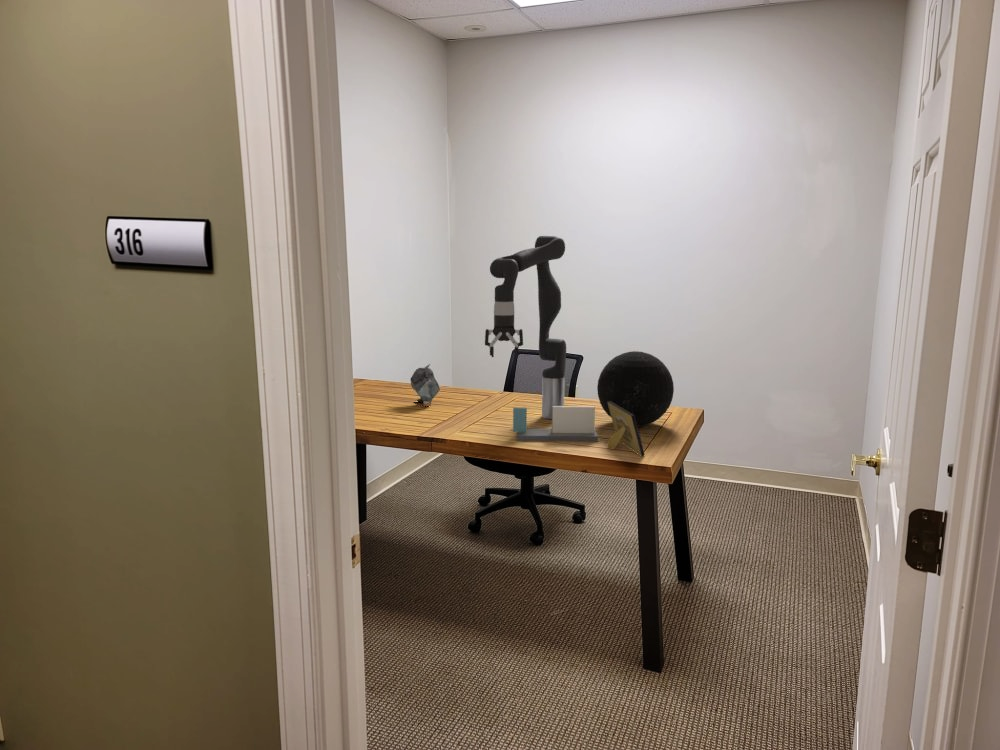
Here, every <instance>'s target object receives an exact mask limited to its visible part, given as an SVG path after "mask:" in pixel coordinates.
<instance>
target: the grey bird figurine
mask: <svg viewBox="0 0 1000 750" xmlns="http://www.w3.org/2000/svg"><path fill="white" fill-rule="evenodd" d="M430 365H431V363H429V364H427V365H426V366H424V367H418V368H417V369H416V370H414V372H413V374H412V376H411V377H410V386H411V388H412V389H413V391H415V392H416V394H417V396H418V397H420V398H418V399H416V400H417V401H418V402H423V403H422V405H423V406H432V404H431V403H432V401H433V399H434V398H435V397H436V396H437V394H438V393H439V392H440V390H441V389H440V385H439V383H438V381H437V380H436V378H435V374H434V371H433V370H432V369H431V368H430Z"/></svg>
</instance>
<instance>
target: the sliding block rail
mask: <svg viewBox="0 0 1000 750" xmlns="http://www.w3.org/2000/svg"><path fill="white" fill-rule="evenodd" d="M595 421H596V407H595V406H592V405H590V406H589V405H587V406H586V405H584V406H583V405H582V406H578V405H575V406H573V405H571V406H570V405H568V406H566V405H564V406H552V419H551V425H550V426H551V428H526V432H516V441H517V442H521V441H522V442H591V443H593V442H599V434H598V433H597V430H596V429H595V423H596V422H595Z"/></svg>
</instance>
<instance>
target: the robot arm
mask: <svg viewBox="0 0 1000 750" xmlns="http://www.w3.org/2000/svg"><path fill="white" fill-rule="evenodd" d="M565 251H566V243H565V240H564V239H563V238H562V237H560V236H557V235H540V236H538V237H537V238H536V240H535V242H534V247H532V248H527V249H526V248H525V249H523V250H519V251H517V252H515V253H513V254H511V255H506V256H501V257H498V258H496V259H494V260H492V262H491V263H490V266H489V273H490V274H491V276H493V277H494V278H496V279H504V280H503V282H502V283H501V284H497V285H496V286H495V287H494V304H493V329H489V328H486V329H485V335H484V345H485V346H488V347H489V356H491V358H494V352H495V351H494V350H495V347H494V345H495V344H496V343H497V342H498V341H499V342H503V341H505V342H509V341H510V342H511V343H512V344H513V346H514V358H517V357H518V356H519V347H522V346H523V345H524V336H523V335H524V334H523V329H522V328H520V329H515V300H514V297H515V296H514V294H515V292H514V291H515V287H516V285H517V284H516V282H517V279H518V276H519V273H520V272H521V273H522V272H523V271H525V270H528V269H529V268H531V267H533V266H534V267H535V266H536V272H537V296H538V298H537V299H538V301H537V302H538V303H537V304H538V317H539V336H538V354H539V355H538V356H539V358H540V359H541V360H543V361H548V362H555V363H554V365H553V366H552V367H549V368H545V369H543V370H542V374H541V375H542V376H541V377H542V385H541V387H542V388H541V389H542V390H541V391H542V393H541V395H542V396H541V417H542V418H543V419H547V420H552V406H565V378H566V377H565V375H566V374H565V372H566V360H567V344H566V341H565V339H562V338H561V339H560V338H550V330H551V327H552V325H553V323H554V321H555V319H556V318H557V316H558V315H559V313H560V311H561V308H562V292H561V289H560V286H559V284H558V283H557V281H556V279H555V277H554V276H553V274H552V272H551V267H550V262H549V261H553V260H559V259H561V258H562V257H563V256H564V255H565ZM492 334H493V335H494V338H493V340H492V341H491V342H489V339H490V336H491V335H492ZM515 334H516V335H517V336H519V342H518V341H516V339H515V338H514V336H515Z"/></svg>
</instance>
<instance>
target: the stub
mask: <svg viewBox="0 0 1000 750" xmlns="http://www.w3.org/2000/svg"><path fill="white" fill-rule="evenodd" d="M527 409H528V408H527V407H513V410H512V412H513V414H512V415H513V416H512V418H513V419H512V421H513V422H512V432H513V433H515V432H516V433H517V432H526V429H527V420H528V419H527V413H528V411H527Z"/></svg>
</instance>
